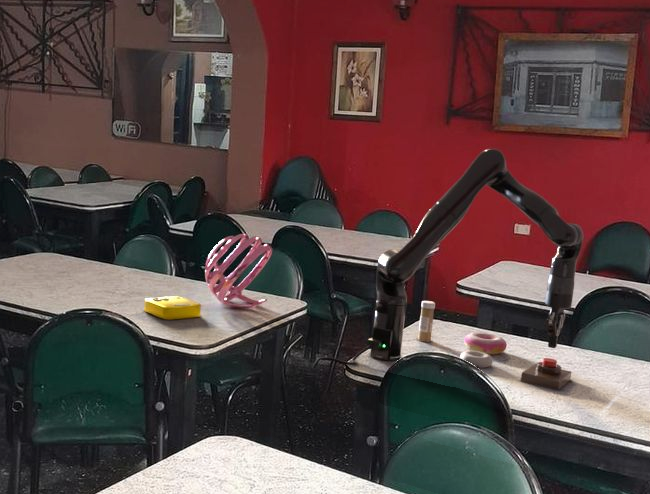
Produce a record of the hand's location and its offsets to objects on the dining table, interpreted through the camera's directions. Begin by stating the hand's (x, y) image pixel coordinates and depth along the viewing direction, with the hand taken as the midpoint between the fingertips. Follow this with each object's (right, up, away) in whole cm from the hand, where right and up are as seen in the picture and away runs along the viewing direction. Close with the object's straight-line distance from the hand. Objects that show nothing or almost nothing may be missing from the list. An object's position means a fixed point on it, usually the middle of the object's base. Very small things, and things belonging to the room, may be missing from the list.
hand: (552, 347), depth 255 cm
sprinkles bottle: (-33, -1, +36) cm, 49 cm away
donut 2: (-20, -7, +12) cm, 24 cm away
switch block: (-2, -10, 0) cm, 10 cm away
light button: (-1, -6, +1) cm, 6 cm away
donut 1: (-14, -4, +30) cm, 33 cm away
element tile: (-119, +8, +42) cm, 126 cm away
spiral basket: (-99, +10, +66) cm, 119 cm away
